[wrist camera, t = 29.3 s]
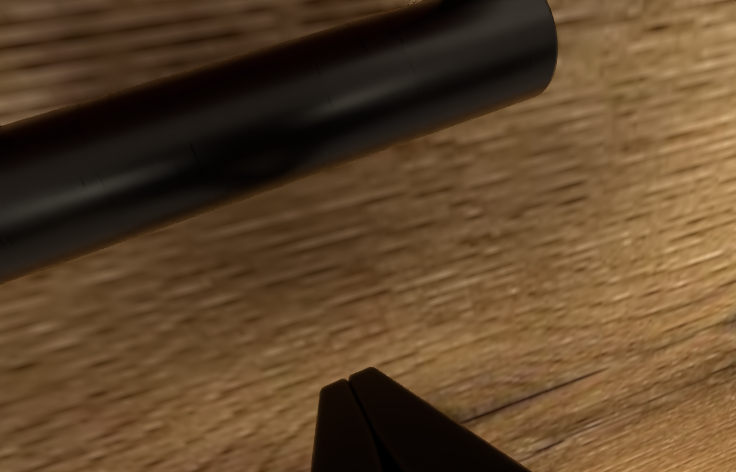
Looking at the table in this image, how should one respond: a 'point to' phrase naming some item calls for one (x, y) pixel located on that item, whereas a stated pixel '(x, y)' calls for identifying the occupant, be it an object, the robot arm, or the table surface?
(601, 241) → the table surface
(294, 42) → the red drawer
